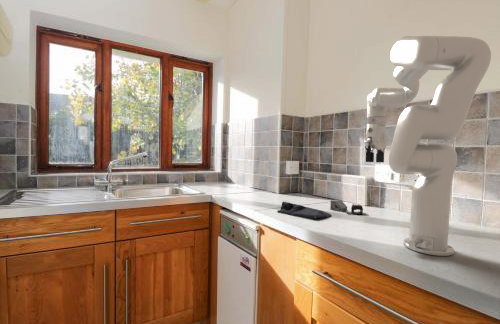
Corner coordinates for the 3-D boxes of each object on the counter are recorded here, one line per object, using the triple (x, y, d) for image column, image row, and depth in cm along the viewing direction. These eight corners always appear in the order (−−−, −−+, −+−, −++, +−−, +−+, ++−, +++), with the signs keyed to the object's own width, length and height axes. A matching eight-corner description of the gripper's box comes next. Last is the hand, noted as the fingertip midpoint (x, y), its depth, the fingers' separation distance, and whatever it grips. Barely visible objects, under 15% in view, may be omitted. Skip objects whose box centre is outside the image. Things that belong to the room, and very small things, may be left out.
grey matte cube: (341, 212, 126) (342, 202, 126) (330, 209, 131) (330, 200, 131) (347, 210, 129) (347, 201, 129) (336, 208, 134) (336, 199, 134)
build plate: (367, 213, 127) (367, 204, 126) (373, 217, 119) (374, 207, 119) (340, 212, 127) (341, 203, 127) (345, 216, 120) (346, 206, 120)
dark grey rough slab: (314, 223, 108) (314, 211, 107) (274, 212, 124) (274, 202, 124) (334, 217, 118) (335, 206, 118) (295, 208, 134) (295, 198, 134)
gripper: (375, 118, 106) (374, 162, 106) (393, 123, 118) (392, 162, 118) (357, 120, 112) (356, 161, 112) (376, 125, 123) (375, 162, 123)
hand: (374, 162), depth 115 cm, fingers open, 9 cm apart
